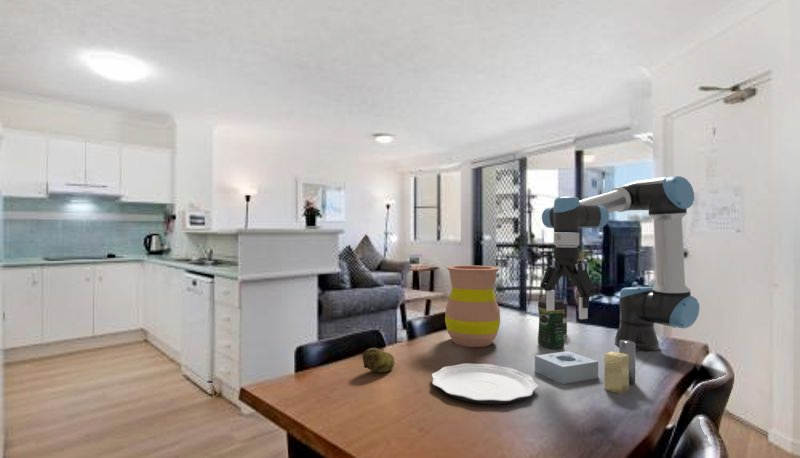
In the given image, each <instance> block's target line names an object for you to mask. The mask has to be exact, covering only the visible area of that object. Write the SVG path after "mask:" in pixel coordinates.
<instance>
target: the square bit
mask: <svg viewBox="0 0 800 458" xmlns="http://www.w3.org/2000/svg"><path fill="white" fill-rule="evenodd" d="M629 387H630V385H629V355H628V354H623V353H619V351H614V350H611V351H608V352H606V353H604V390H606V391H610V392H613V393H617V394H620V395H623V394H625V393H627V392H628V391H630V388H629Z"/></svg>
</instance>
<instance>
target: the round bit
mask: <svg viewBox="0 0 800 458" xmlns="http://www.w3.org/2000/svg"><path fill="white" fill-rule="evenodd" d="M618 347H619V348H618V349H619V351H618V352H619V353H623V354H628V355H629V386H632V385H633V386H634V385H636V350H635V342H633V341H629V340H620V341H619V346H618Z"/></svg>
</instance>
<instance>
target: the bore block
mask: <svg viewBox="0 0 800 458" xmlns="http://www.w3.org/2000/svg"><path fill="white" fill-rule="evenodd" d="M534 372H535V373H538V374H540V375H542V376H544V377H546V378H549V379H551V380H553V381H556V382H557V383H559V384H562V385H565V384H571V383H577V382H582V381H588V380H593V379H594V380H595V379H599V361H598V360H595V359H592V358H589V357H587V356H584V355H580V354H578V353H575V352H572V351H569V350H566V351H560V352H558V351H557V352H551V353H545V354H539V355H537V354H536V355H534Z"/></svg>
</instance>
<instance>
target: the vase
mask: <svg viewBox="0 0 800 458" xmlns="http://www.w3.org/2000/svg"><path fill="white" fill-rule="evenodd" d="M445 268H446V269H447V270H448V271H449V279H450V283H451V288H452V289H451V290H450V295H449V298H448V300H447V303H446V306H445V314H444V315H445V318H444V321H445V326H446V330H447V334H448V335H449V337H450V339H451V340H452V342H453V343H454V344H455V345H458V346H461V347H467V348H468V347H469V348H484V347H489V346H490V345H492V343H493V342H494V340H495V339H496V337H497V335H498V332H499V329H500V324H501V312H500V307H499V304H498V302H497V301H498V300H497V298H496V295H495V292H494V291H495V290H494V287H495V284H496V283H495V282H496V279H497V272H498V271H499V270H500V269H501V268H500V267H498V266H491V265H489V266H488V265H470V264H469V265H464V264H463V265H448V266H446V267H445Z"/></svg>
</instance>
